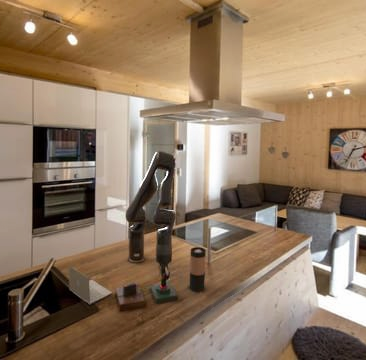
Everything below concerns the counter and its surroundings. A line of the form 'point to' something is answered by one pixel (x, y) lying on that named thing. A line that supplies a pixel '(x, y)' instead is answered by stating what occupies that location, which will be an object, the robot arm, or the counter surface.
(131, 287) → the grip knob
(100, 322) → the counter surface
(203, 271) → the travel mug
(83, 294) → the laptop
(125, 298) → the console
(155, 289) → the button block
